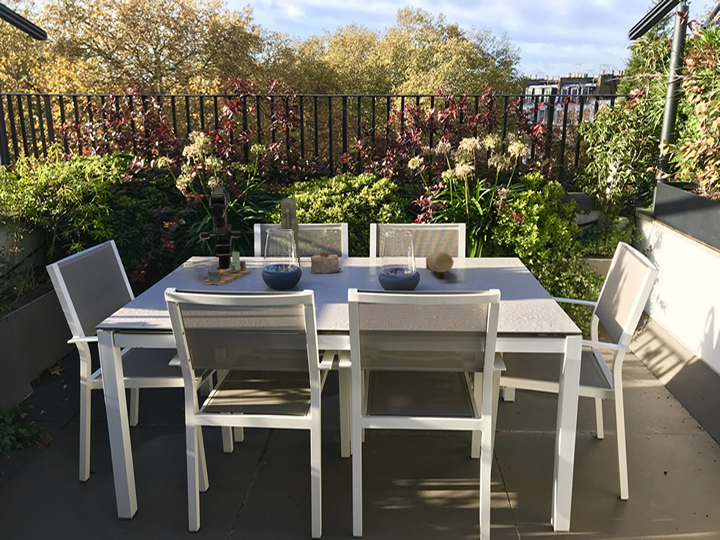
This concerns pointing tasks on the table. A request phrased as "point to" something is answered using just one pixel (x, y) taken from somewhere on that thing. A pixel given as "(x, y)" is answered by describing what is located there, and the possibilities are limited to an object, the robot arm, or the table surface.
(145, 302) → the table surface
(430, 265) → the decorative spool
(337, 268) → the food item
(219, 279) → the linear slide rail
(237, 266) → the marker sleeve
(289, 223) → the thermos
